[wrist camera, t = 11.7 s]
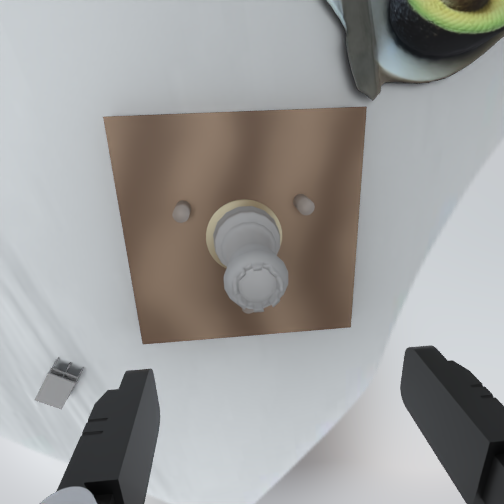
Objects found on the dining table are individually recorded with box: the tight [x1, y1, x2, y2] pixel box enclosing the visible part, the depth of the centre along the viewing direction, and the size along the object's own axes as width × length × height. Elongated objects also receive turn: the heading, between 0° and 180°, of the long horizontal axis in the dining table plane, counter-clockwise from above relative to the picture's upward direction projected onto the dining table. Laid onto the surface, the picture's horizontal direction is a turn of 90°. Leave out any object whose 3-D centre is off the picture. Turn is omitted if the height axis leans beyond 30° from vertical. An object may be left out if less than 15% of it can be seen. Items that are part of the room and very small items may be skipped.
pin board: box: [103, 107, 367, 344], centre depth 24 cm, size 16×16×3 cm
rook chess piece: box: [213, 206, 288, 312], centre depth 21 cm, size 4×4×8 cm
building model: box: [35, 358, 84, 409], centre depth 28 cm, size 2×3×2 cm
